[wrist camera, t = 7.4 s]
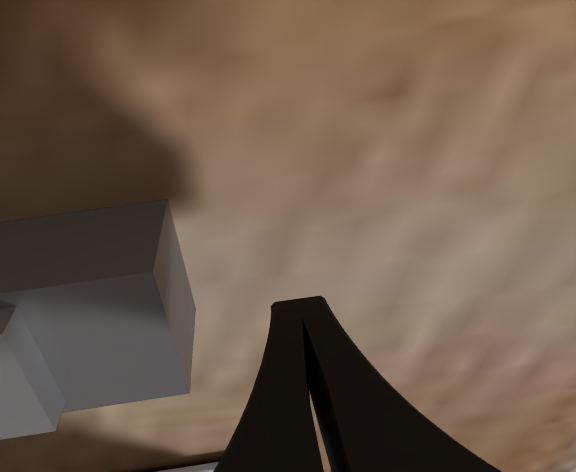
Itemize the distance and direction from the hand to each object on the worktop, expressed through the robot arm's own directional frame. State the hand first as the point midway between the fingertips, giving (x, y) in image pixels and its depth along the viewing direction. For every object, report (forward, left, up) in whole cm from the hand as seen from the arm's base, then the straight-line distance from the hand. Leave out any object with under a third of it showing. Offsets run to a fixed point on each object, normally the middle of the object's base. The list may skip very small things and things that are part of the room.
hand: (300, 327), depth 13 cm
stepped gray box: (0, +7, -4) cm, 8 cm away
